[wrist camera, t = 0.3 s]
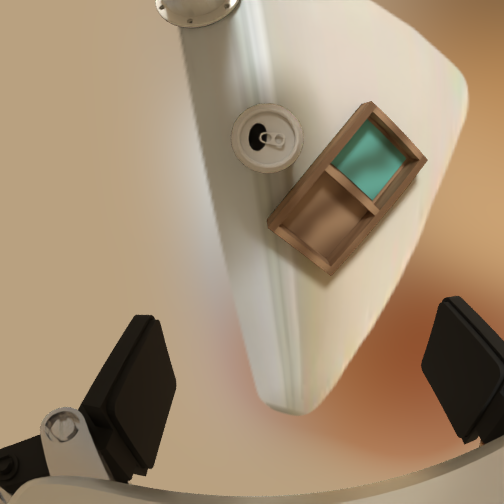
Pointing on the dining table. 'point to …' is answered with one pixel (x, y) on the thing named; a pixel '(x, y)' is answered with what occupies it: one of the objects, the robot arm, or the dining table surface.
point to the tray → (347, 188)
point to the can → (267, 138)
